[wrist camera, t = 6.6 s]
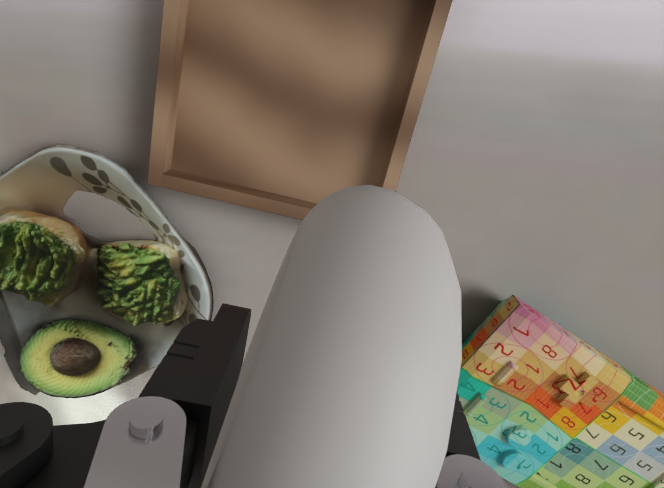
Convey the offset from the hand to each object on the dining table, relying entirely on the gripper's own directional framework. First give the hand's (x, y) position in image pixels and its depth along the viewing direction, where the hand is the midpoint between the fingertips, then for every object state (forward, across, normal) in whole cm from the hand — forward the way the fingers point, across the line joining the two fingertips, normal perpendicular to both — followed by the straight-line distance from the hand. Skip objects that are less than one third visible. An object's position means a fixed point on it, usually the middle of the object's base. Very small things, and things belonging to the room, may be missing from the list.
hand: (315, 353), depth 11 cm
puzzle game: (+19, -20, +13) cm, 31 cm away
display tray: (+19, +4, -5) cm, 20 cm away
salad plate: (+19, +16, +11) cm, 27 cm away
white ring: (+4, 0, 0) cm, 4 cm away
